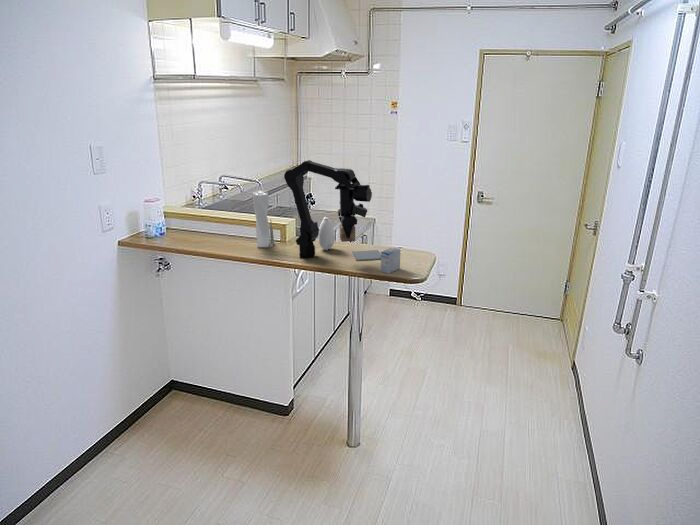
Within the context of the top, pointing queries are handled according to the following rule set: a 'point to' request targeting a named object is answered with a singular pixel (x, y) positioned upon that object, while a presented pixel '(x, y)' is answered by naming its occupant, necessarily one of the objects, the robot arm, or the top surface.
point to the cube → (343, 235)
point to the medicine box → (390, 260)
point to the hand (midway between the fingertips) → (347, 236)
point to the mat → (367, 255)
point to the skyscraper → (262, 220)
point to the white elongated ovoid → (326, 234)
